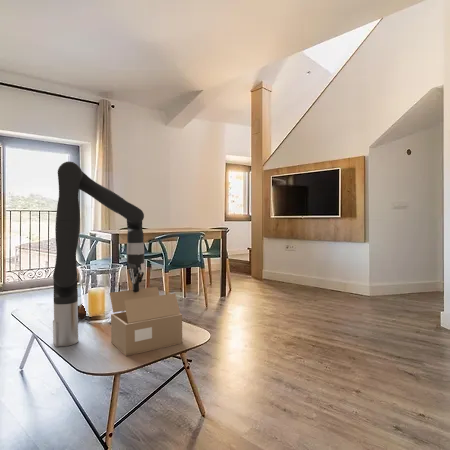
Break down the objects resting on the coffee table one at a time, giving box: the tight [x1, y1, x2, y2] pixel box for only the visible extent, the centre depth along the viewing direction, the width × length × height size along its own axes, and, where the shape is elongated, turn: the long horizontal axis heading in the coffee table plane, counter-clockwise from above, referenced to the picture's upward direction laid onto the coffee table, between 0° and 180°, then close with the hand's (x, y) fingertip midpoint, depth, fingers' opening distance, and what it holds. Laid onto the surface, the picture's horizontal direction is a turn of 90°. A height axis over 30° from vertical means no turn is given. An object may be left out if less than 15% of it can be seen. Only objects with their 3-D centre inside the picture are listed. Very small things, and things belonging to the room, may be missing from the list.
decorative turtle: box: [78, 303, 87, 320], centre depth 186 cm, size 10×15×8 cm, turn 135°
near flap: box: [124, 293, 181, 323], centre depth 143 cm, size 22×9×1 cm
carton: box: [110, 311, 183, 357], centre depth 148 cm, size 24×18×12 cm
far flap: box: [109, 286, 161, 313], centre depth 158 cm, size 22×9×1 cm
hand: (136, 291), depth 158 cm, fingers closed
